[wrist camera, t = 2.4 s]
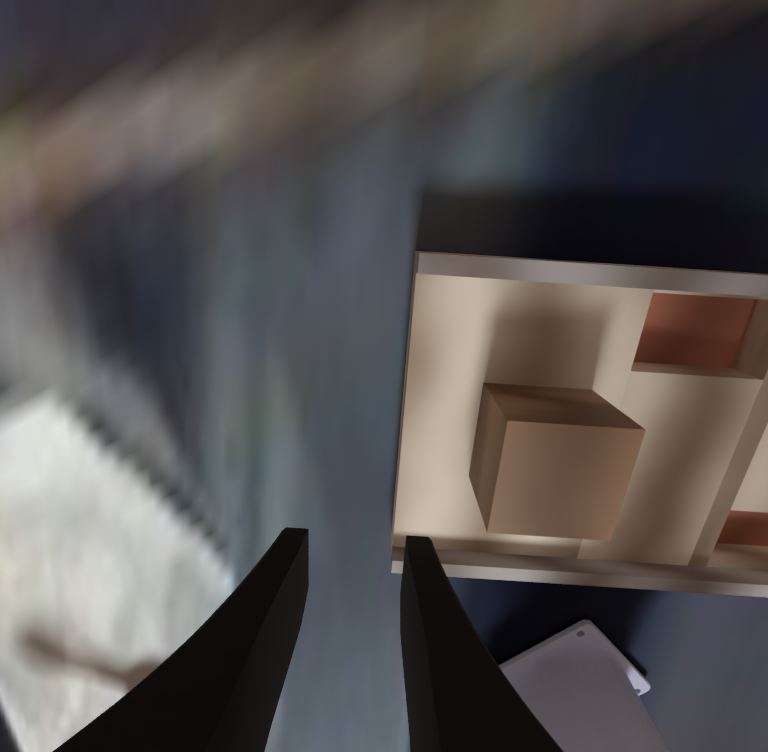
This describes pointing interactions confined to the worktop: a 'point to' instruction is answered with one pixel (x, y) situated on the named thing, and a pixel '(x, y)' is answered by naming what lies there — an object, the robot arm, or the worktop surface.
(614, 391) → the board
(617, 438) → the walnut block
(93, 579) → the worktop surface
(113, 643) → the worktop surface
